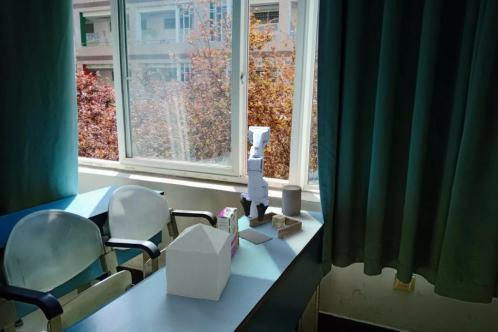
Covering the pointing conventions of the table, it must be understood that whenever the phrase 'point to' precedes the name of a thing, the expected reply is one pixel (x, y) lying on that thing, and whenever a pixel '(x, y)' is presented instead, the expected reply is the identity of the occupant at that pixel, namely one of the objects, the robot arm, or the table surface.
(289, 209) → the pillar candle
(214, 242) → the decorative block
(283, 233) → the open wooden frame
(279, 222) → the birch block
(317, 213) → the table surface
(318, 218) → the table surface
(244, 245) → the table surface
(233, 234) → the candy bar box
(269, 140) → the robot arm
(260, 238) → the mat
